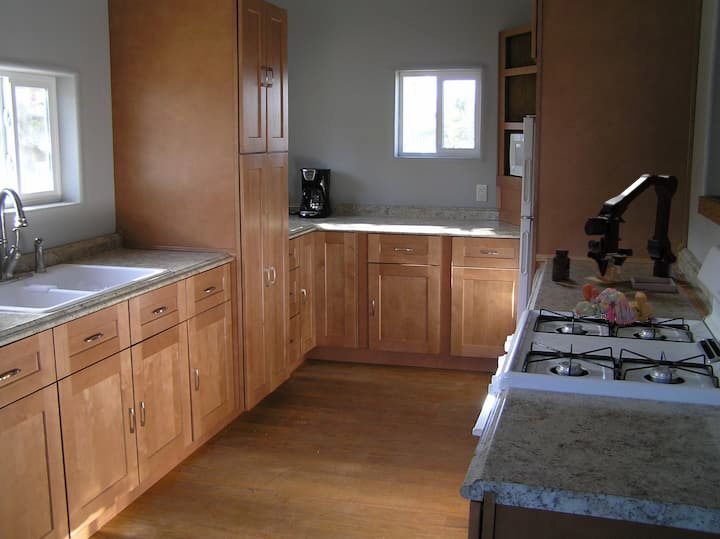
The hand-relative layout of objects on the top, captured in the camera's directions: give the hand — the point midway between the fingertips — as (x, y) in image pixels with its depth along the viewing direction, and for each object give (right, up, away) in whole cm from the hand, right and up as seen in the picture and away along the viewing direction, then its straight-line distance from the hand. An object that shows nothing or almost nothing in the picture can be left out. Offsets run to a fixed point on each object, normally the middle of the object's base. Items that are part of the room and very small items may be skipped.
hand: (608, 275), depth 299 cm
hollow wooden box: (0, -1, 0) cm, 1 cm away
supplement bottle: (-18, -2, 0) cm, 19 cm away
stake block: (-2, -2, -1) cm, 3 cm away
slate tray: (+12, -4, -12) cm, 18 cm away
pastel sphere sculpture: (-17, -13, -56) cm, 60 cm away
